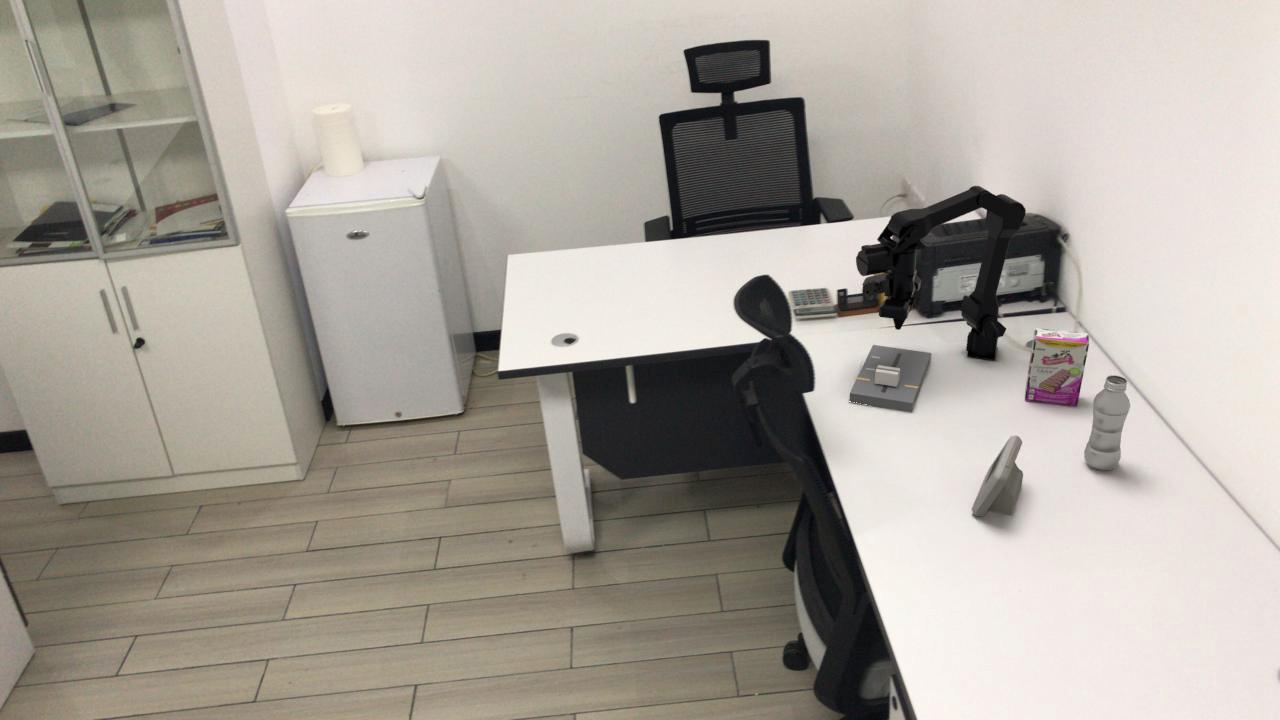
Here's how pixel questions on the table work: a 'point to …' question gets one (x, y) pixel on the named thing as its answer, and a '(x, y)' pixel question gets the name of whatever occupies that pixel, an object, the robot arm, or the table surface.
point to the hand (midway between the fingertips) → (898, 328)
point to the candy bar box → (1056, 367)
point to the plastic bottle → (1107, 424)
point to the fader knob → (887, 375)
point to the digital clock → (1001, 482)
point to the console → (891, 396)
